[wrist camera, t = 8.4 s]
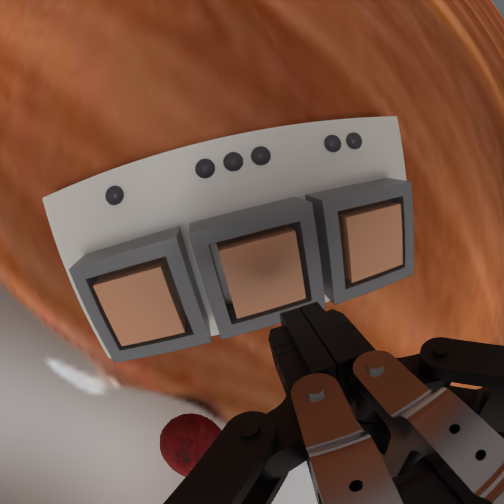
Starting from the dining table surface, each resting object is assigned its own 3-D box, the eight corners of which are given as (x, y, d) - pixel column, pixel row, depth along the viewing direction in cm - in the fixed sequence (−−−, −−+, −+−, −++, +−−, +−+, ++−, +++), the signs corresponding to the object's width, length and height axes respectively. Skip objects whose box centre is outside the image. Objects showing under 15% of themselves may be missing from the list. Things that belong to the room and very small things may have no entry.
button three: (283, 222, 16) (295, 230, 14) (294, 284, 17) (306, 298, 16) (215, 240, 16) (218, 251, 14) (232, 302, 17) (237, 318, 15)
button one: (164, 254, 15) (160, 266, 13) (185, 314, 17) (184, 332, 15) (103, 272, 15) (92, 285, 13) (128, 328, 16) (121, 346, 14)
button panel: (380, 118, 18) (420, 113, 14) (395, 262, 22) (429, 282, 18) (56, 194, 15) (21, 204, 11) (114, 343, 19) (101, 380, 15)
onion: (153, 399, 22) (147, 471, 14) (214, 392, 22) (226, 466, 15) (171, 433, 23) (172, 497, 16) (225, 427, 24) (237, 492, 17)
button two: (381, 199, 17) (400, 203, 15) (385, 254, 18) (402, 264, 16) (330, 211, 16) (346, 217, 15) (337, 270, 18) (352, 282, 16)
